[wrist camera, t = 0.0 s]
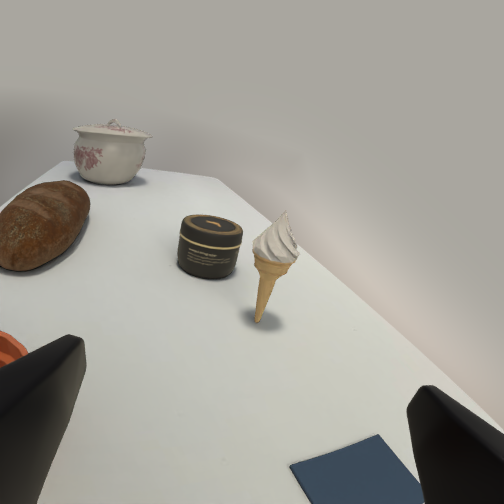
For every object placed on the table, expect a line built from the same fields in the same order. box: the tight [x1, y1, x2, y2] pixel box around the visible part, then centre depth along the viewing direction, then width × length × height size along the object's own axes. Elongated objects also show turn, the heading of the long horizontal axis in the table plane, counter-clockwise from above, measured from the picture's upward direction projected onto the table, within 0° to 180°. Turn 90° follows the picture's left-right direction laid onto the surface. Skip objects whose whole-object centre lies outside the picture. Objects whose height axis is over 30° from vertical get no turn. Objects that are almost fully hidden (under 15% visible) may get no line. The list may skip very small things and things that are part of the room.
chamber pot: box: [73, 119, 153, 185], centre depth 94 cm, size 28×28×21 cm
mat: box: [290, 434, 424, 504], centre depth 20 cm, size 10×9×1 cm
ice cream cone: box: [253, 211, 300, 323], centre depth 39 cm, size 6×6×15 cm
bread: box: [0, 180, 90, 271], centre depth 49 cm, size 16×36×8 cm, turn 18°
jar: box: [177, 215, 243, 279], centre depth 52 cm, size 10×10×8 cm
